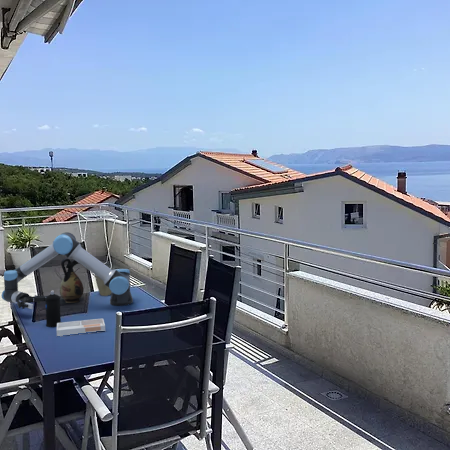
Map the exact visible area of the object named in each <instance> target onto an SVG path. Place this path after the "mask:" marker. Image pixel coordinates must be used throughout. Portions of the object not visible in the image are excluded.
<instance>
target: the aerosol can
mask: <svg viewBox="0 0 450 450" xmlns="http://www.w3.org/2000/svg"><path fill="white" fill-rule="evenodd" d="M46 296H47V297H46V298H45V300H46V301H45V317H46V319H45V320H46V324H45V326H46V327H47V328H57V323H62V320H61V318H62V317H61V296H59V295H58V294H55V290H51V291H50V293H49V294H48V295H46Z"/></svg>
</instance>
